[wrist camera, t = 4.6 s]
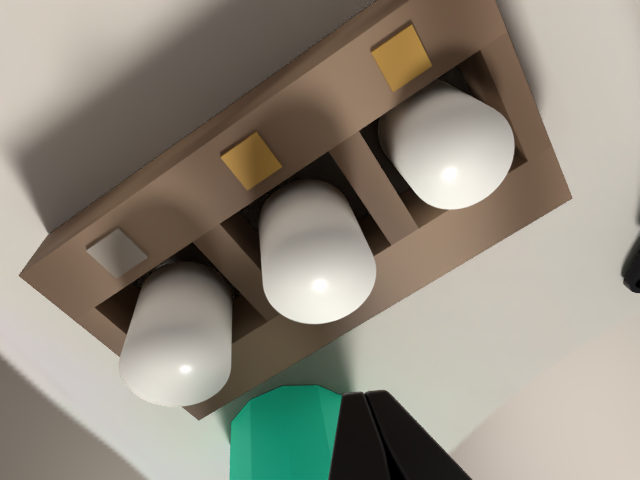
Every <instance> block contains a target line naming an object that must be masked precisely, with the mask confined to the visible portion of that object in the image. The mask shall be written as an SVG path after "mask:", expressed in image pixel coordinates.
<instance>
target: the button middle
mask: <svg viewBox="0 0 640 480" xmlns="http://www.w3.org/2000/svg"><path fill="white" fill-rule="evenodd" d="M259 239H260V252H261V266H262V280H263V288H264V292H265V295H266V297H267V299H268V301H269V303H270V304H271V305H272V306H273V308H274V309H275V310H277V311H278V312H279V313H280V314H282V315H283V316H285V317H287V318H289V319H291V320H294V321H297V322H301V323H307V324H322V323H328V322H332V321H336V320H338V319H341V318H343V317H345V316H347V315H349V314H350V313H352V312H353V311H355V310H356V309H357V308H358V307H360V306H361V305H362V304H363V302H364V301H365V300H366V299H367V297H368V296H369V294H370V293H371V291H372V289H373V286H374V283H375V279H376V264H375V259H374V257H373V254H372V252H371V250H370V248H369V246H368V243H367V241H366V239H365V237H364V235H363V233H362V231H361V228H360V226H359V224H358V222H357V220H356V218H355V216H354V213H353V211H352V209H351V207H350V205H349V203H348V201H347V199H346V198H345V196H344V195H343V194H342V193H341V192H340V191H339V190H338V189H337V188H335V187H334V186H332V185H330V184H328V183H326V182H323V181H319V180H313V179H302V180H296V181H293V182H290V183H287V184H285V185H283V186H281V187H280V188H278V189H277V190H276V191H274V192H273V193H272V194H271V195H270V196H269V197H268V199H267V200H266V201H265V203H264V205H263V207H262V209H261V211H260V215H259Z"/></svg>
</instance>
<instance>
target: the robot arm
mask: <svg viewBox="0 0 640 480" xmlns="http://www.w3.org/2000/svg"><path fill="white" fill-rule="evenodd" d="M623 283H624V285H625V286H626V287H627V288H628V289H629V290H631V291H632V292H635V293H640V251H639V253H638V255H637V256H636V258H635V260H634V262H633V263H632V265H631V267H630V268H629V270H628V272H627V274H626V275H625V277H624V280H623ZM328 480H472V479H471V478H470V477H469V476H468V475H467V473H465V471H463V469H462V468H461V467H460V466H459V465H458V464H457V463H456V462H455V461H454V460H453V459H452V458H451V457H450V456H449V455H448V454H447V453H446V451H445V450H444V449H443V448H442V447H441V446H440V445H439V444H438V443H437V442H436V441H435V440H434V439H433V438H432V437H431V436H430V435H429V434H428V433H427V432H426V431H425V429H424V428H423V427H422V426H421V425H420V424H419V423H418V422H417V421H416V420H415V419H414V418H413V417H412V416H411V415H410V414H409V413H408V412H407V411H406V410H405V409H404V407H403V406H402V405H401V404H400V403H399V402H398V401H397V400H396V399H395V398H394V397H393V396H392V395H391V394H390V393H389V392H388V391H386V390H377V391H368V392H366V393H365V394H364V393H363V392H351V393H344V394H343V395H342V397H341V403H340V409H339V416H338V422H337V428H336V434H335V440H334V446H333V452H332V458H331V465H330V471H329V477H328Z"/></svg>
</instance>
